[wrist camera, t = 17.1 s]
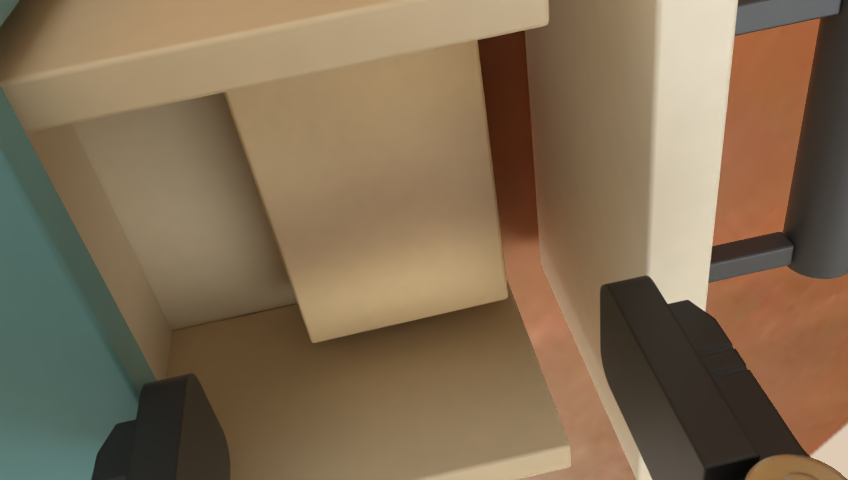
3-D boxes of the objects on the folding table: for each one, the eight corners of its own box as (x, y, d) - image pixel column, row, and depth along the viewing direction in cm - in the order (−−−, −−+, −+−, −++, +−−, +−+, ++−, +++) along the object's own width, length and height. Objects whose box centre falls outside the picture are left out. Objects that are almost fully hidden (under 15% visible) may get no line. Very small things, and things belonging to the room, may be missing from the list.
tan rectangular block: (211, -6, 16) (204, 41, 14) (446, -56, 16) (471, -17, 14) (307, 280, 21) (310, 345, 19) (486, 240, 21) (509, 299, 19)
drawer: (799, -260, 16) (1135, -205, 10) (737, 223, 24) (903, 424, 18) (-51, -93, 15) (-269, 77, 9) (168, 347, 23) (130, 601, 17)
